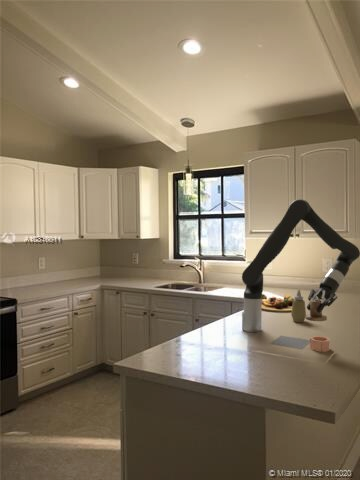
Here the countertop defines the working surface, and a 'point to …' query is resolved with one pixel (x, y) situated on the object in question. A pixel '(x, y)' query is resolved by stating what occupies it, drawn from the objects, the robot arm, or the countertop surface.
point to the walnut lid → (315, 312)
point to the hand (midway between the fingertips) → (313, 310)
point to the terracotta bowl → (320, 343)
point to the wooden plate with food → (277, 304)
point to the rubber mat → (290, 342)
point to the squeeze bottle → (298, 308)
